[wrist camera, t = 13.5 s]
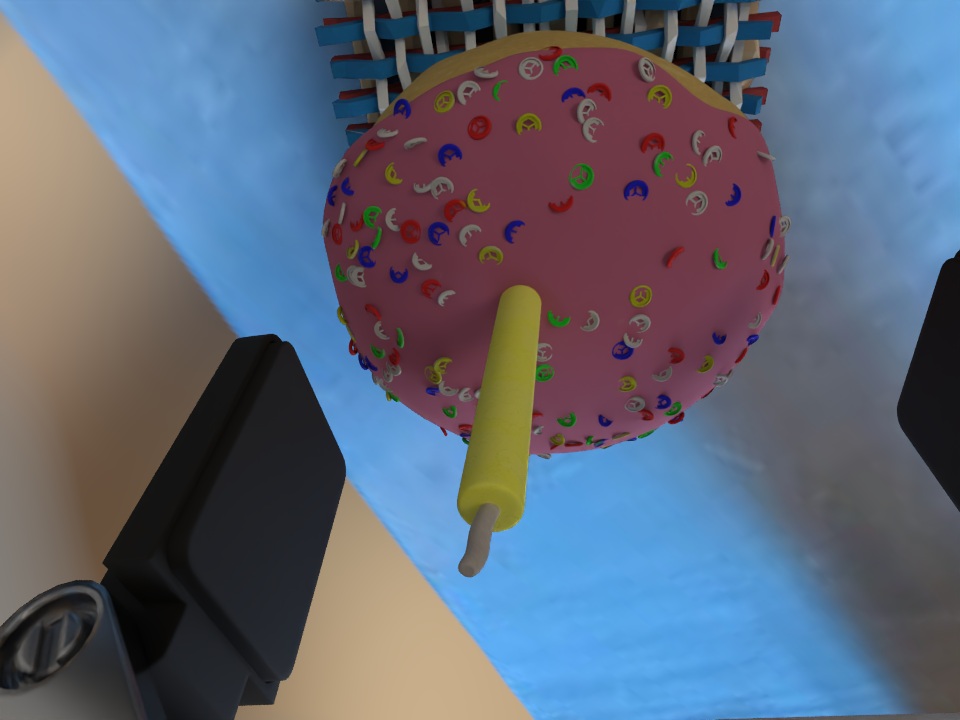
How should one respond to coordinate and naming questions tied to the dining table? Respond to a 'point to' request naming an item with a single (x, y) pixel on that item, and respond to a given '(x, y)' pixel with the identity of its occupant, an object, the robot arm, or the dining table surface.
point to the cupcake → (552, 253)
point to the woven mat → (554, 7)
